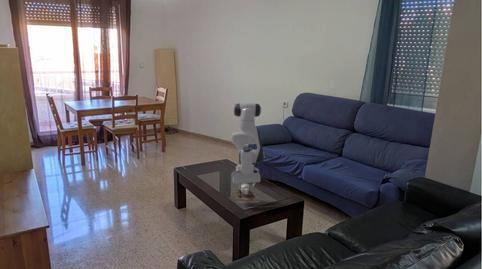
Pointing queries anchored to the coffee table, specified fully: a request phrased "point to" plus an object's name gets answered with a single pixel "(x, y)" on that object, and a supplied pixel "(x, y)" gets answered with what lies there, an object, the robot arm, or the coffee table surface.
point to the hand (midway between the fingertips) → (246, 188)
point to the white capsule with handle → (244, 189)
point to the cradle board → (245, 197)
